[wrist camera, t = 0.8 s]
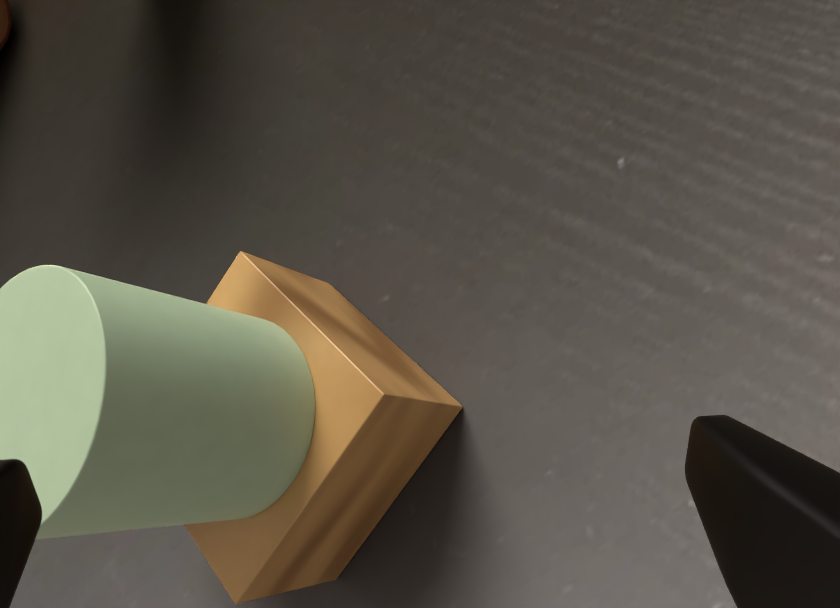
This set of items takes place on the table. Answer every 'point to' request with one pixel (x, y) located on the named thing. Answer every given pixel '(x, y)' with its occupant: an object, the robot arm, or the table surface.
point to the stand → (326, 436)
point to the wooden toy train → (4, 22)
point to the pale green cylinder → (146, 404)
